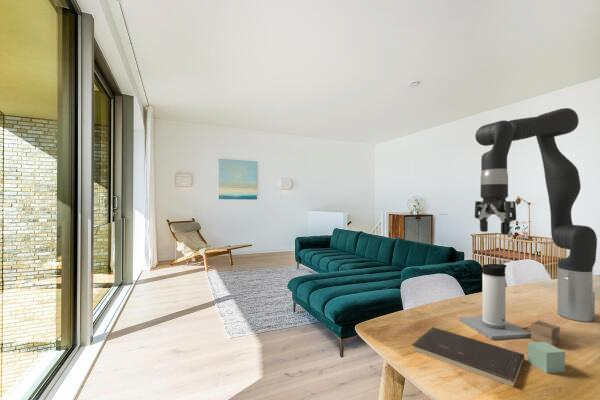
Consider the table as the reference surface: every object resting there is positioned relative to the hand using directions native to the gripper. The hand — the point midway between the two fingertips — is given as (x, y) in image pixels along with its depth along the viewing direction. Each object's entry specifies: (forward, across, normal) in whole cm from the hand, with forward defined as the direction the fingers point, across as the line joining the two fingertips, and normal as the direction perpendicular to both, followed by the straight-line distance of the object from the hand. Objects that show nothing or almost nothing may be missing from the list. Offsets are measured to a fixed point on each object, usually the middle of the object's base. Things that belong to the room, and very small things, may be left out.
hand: (493, 232), depth 94 cm
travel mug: (+30, 0, 0) cm, 31 cm away
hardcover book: (+32, -14, +21) cm, 40 cm away
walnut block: (+31, -10, -8) cm, 34 cm away
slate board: (+31, 0, 0) cm, 31 cm away
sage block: (+31, -21, +4) cm, 38 cm away
